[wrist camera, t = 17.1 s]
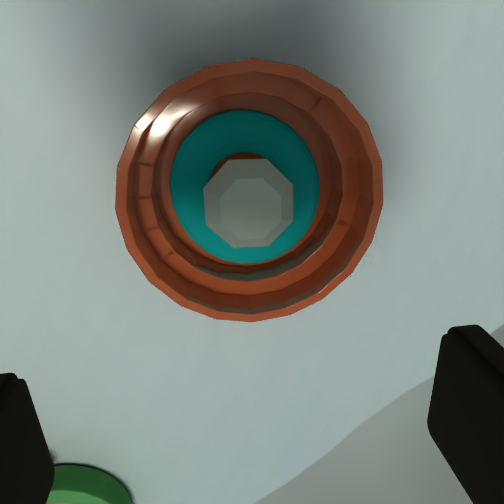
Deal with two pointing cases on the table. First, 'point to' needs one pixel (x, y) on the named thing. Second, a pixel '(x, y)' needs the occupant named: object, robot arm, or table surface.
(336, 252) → the bowl
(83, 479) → the tape roll
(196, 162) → the ornament
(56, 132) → the table surface
